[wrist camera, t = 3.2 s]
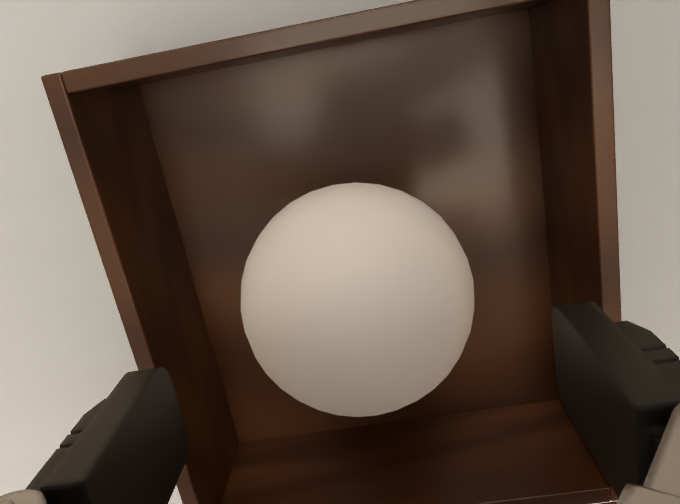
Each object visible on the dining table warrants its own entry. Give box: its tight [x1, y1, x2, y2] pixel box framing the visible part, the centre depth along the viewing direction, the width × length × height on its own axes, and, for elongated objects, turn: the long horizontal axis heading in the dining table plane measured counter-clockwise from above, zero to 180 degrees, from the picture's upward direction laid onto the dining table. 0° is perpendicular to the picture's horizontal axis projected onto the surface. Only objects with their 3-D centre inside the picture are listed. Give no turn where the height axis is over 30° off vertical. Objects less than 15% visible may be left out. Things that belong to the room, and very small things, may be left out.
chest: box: [41, 0, 621, 504], centre depth 21 cm, size 17×16×6 cm
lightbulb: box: [241, 182, 474, 417], centre depth 18 cm, size 6×6×11 cm
